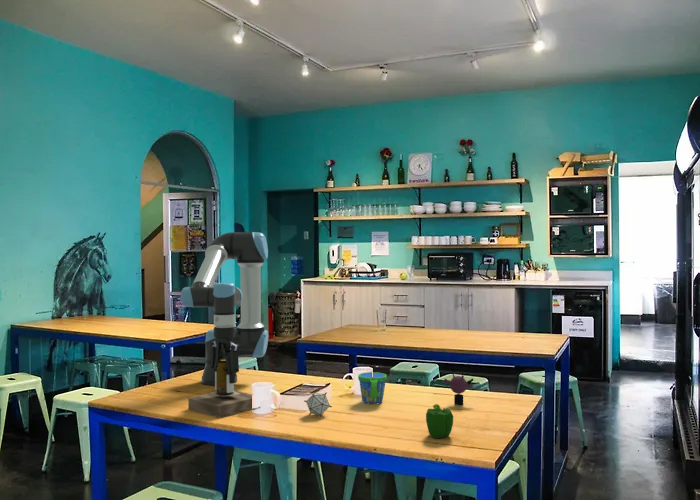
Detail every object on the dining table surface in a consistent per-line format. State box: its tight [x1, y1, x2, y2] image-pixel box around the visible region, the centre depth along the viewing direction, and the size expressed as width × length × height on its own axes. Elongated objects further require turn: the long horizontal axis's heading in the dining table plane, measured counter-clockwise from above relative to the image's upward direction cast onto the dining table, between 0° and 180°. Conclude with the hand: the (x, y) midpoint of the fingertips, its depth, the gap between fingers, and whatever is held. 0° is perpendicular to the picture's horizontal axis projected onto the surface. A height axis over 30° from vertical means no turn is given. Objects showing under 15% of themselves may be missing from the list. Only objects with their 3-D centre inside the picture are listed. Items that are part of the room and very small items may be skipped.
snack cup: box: [357, 371, 387, 405], centre depth 220 cm, size 16×10×10 cm
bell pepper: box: [425, 403, 454, 439], centre depth 179 cm, size 8×8×10 cm
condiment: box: [210, 359, 240, 396], centre depth 212 cm, size 7×8×12 cm
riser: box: [187, 389, 253, 419], centre depth 212 cm, size 18×18×4 cm
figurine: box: [443, 371, 474, 406], centre depth 217 cm, size 8×8×12 cm
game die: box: [303, 390, 333, 418], centre depth 202 cm, size 9×8×10 cm
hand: (224, 390), depth 212 cm, fingers closed on condiment, 6 cm apart
